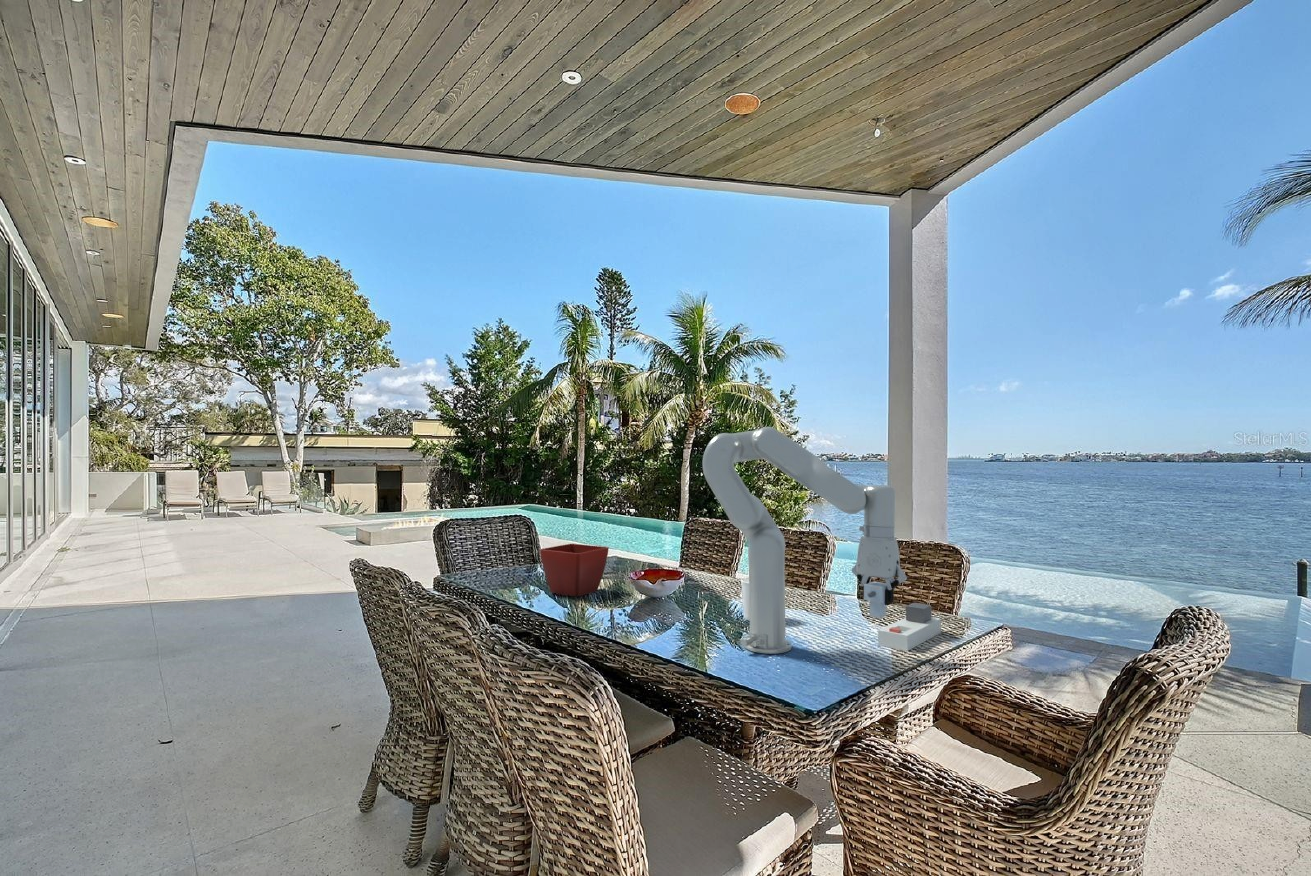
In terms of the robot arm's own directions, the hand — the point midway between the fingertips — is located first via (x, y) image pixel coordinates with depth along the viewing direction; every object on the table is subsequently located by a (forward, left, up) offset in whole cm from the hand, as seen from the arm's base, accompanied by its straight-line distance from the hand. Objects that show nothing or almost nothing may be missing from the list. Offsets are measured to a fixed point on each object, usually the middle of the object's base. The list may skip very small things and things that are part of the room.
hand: (877, 601), depth 171 cm
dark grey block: (+25, -1, -14) cm, 29 cm away
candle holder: (+9, +44, -14) cm, 47 cm away
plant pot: (-5, +117, -14) cm, 118 cm away
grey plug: (0, 0, -4) cm, 4 cm away
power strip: (+19, -1, -14) cm, 24 cm away
